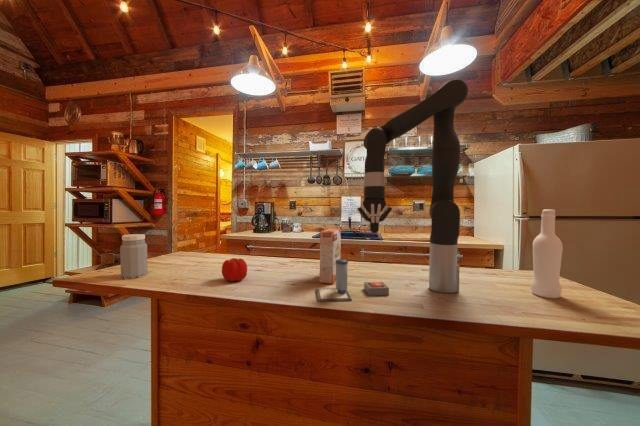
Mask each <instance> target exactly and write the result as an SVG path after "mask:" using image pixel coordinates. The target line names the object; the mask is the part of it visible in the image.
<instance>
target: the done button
mask: <svg viewBox="0 0 640 426" xmlns="http://www.w3.org/2000/svg"><path fill="white" fill-rule="evenodd" d="M379 282H380V281H372V283H370V286H371V287H382V284H381V283H379Z"/></svg>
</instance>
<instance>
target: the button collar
mask: <svg viewBox="0 0 640 426" xmlns="http://www.w3.org/2000/svg"><path fill="white" fill-rule="evenodd" d="M372 282H373V281H372ZM372 282H371V281H370V282H369V281H368V282H367V281H365V282H363V284H364V285H363V289H364V291H365V293H366V294H367V295H368V296H369V297H370V296H389V295H390V287H389V286H388V285H386V284H385V283H384V282H383V281H378V282H379V283H381V284H382V287H371V286H370V283H372Z"/></svg>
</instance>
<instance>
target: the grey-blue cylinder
mask: <svg viewBox="0 0 640 426" xmlns="http://www.w3.org/2000/svg"><path fill="white" fill-rule="evenodd" d="M348 264H349V260H347V259H344V258H343V259H342V258H340V259H338V260H336V280H335V288H336V289H337V290H338V292H337V293H338V294H345V293H346V290H347V291H348Z"/></svg>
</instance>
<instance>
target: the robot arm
mask: <svg viewBox="0 0 640 426" xmlns="http://www.w3.org/2000/svg"><path fill="white" fill-rule="evenodd" d="M468 94H469V88H468V85H467V83H466V82H465V81H464V80H463V79H460V78H455V79H450V80H448V81H446V82H444V84H442V85H441V86H440V87H439V88H438V89H437V90H436V91H435V92H434V93H433V94H431V95H429V96H428V97H427V98H425V99H423V100H422V101H420V102H418V103H417V104H415V105H414V106H412V107H410V108H408V109H406V110H404V111H403V112H400V113H399V114H397V115H395V116H393V117H392V118H390V119H389V120H388V121H386V123H384V125H382V126H379V127H373V128H371V129H370V130H369V131H367V133H366V135H364V138H363V141H362V143H363V147H364V149H366V156H365V160H364V175H363V176H364V177H363V201H362V205H360V206H359V207H357V209H356V211H358V213H359V214H360V215H361V217H362V218H363V219H364V221H366V222H369V230H370V232H371V234H378V232H379V229H380V228H379V224H380V222H383V221H385V219H386V218H387V217H388V216H389V214H390V213H391V212H392V210H393V207H391V206H388V205H387V202H386V177H385V156H386V149H387V145H388V144H389V143H391V142H393V141H394V140H395V139H398V138H399V137H402V136H403V135H404V134H407V133H408V132H410V131H411V130H413V129H415V128H417V127H418V126H420V125H421V124H423V122H425V121H427V120H428V119H429V118H431V117H433V133H432V134H433V135H432V136H433V137H432V138H433V139H432V153H431V154H432V155H431V171H432V172H431V177H432V179H431V180H432V190H431V191H432V192H431V194H432V195H431V199H430V206H429V217H430V219H431V230H430V235H429V267H428V268H429V271H428V273H429V274H428V280H429V281H428V288H429V289H430V290H431V291H433V292H436V293H440V294H441V293H444V294H454V293H457V292H460V273H461V271H460V269H461V268H460V267H461V266H460V264H458V240H459V236H460V224H461V211H460V208H459V205H458V204H457V203H456V202H455V200H454V199H455V198H454V191H455V190H454V189H455V184H456V183H455V182H456V179H457V176H458V171H459V167H460V162H461V161H460V160H461V158H460V157H461V144H460V140H459V137H458V134H457V132H456V130H455V123H454V121H455V120H454V119H455V111H456V108H457V107H458V106H461V104H462V103H464V101H465V100H466V98H467V97H468ZM365 210H366V212H367V213H368V215H367V214H366V212H365ZM382 211H383V212H382ZM381 213H382V214H381Z"/></svg>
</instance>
